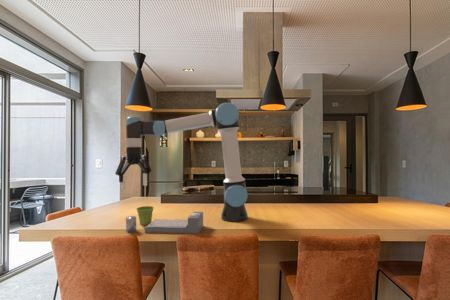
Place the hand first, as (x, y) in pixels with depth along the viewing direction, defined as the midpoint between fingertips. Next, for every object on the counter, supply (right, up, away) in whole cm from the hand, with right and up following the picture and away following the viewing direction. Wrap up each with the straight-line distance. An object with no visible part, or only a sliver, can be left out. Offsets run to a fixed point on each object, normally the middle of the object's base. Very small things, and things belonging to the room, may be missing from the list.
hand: (134, 187), depth 164 cm
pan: (+19, -19, -3) cm, 27 cm away
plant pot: (+4, -21, +9) cm, 23 cm away
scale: (+22, -21, -3) cm, 31 cm away
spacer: (0, -22, -5) cm, 22 cm away
